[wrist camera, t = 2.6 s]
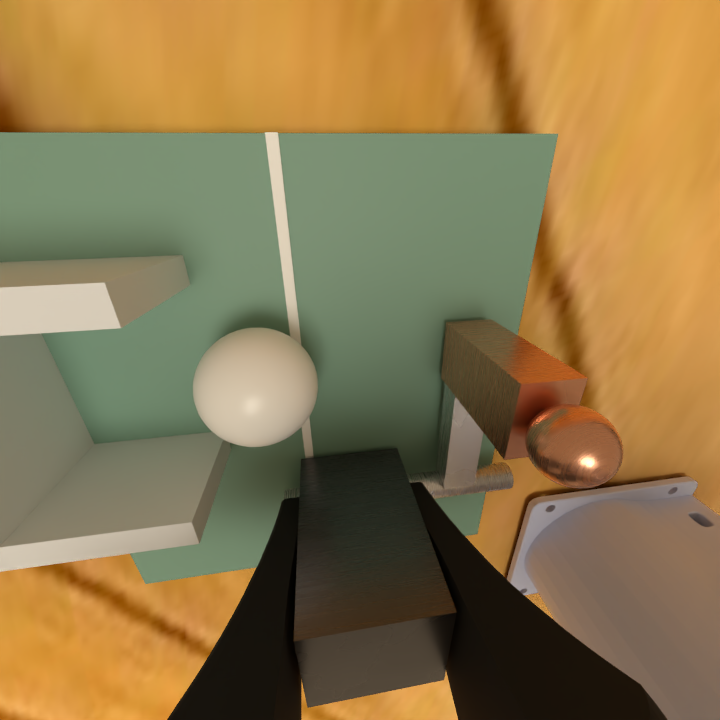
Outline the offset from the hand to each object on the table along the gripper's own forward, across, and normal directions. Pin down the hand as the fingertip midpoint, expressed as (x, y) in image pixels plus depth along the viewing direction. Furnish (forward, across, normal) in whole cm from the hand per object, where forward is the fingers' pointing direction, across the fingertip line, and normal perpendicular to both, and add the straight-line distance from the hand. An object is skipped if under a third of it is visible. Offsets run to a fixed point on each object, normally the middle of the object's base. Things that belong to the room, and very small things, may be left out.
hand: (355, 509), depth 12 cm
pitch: (+2, +2, -4) cm, 5 cm away
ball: (0, +2, -6) cm, 6 cm away
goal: (+1, +7, -6) cm, 9 cm away
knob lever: (+1, -2, -2) cm, 3 cm away
